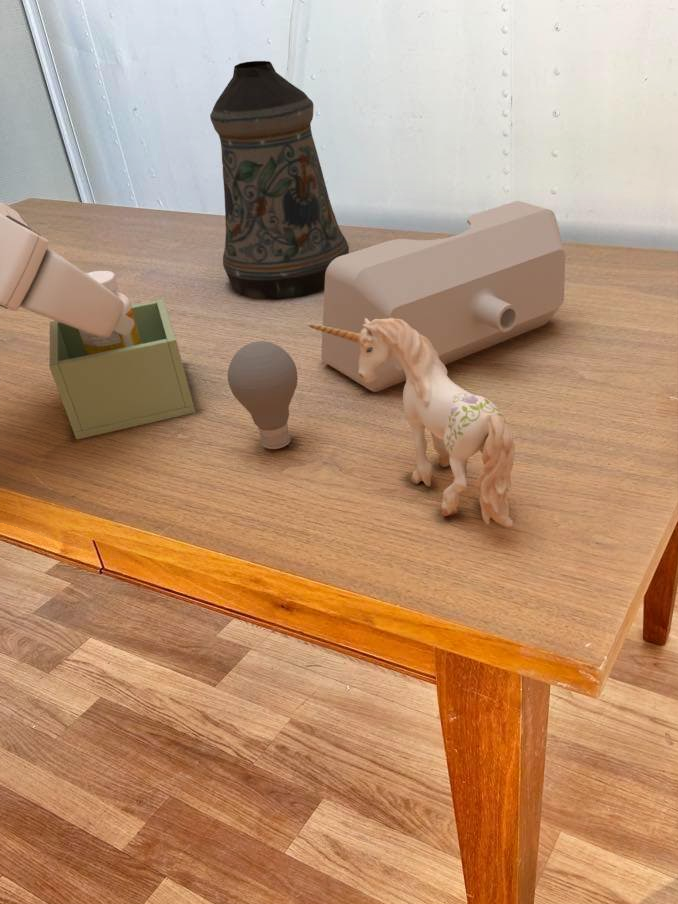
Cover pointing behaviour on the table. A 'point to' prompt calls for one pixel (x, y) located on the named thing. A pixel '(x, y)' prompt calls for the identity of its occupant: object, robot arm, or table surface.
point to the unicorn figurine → (441, 415)
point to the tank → (449, 288)
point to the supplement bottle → (115, 340)
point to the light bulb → (265, 388)
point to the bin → (121, 376)
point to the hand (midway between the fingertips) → (111, 319)
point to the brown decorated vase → (273, 188)
